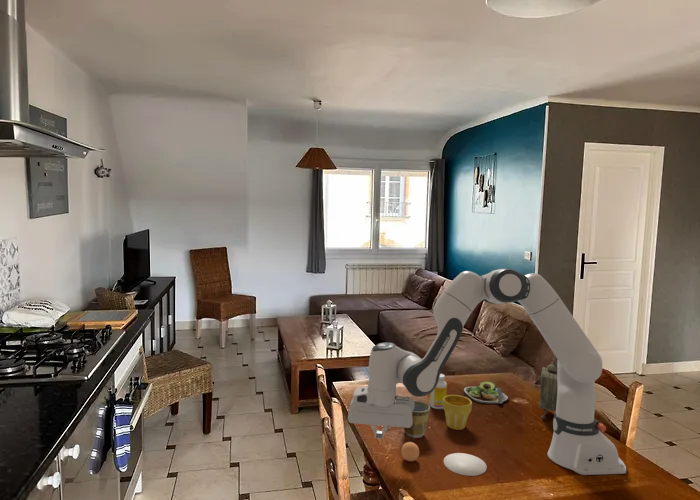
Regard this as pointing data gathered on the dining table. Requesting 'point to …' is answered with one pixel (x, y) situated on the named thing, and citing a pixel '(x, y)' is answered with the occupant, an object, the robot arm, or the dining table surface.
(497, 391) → the avocado toast plate
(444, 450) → the dining table surface
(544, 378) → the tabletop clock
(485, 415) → the dining table surface
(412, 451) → the ball
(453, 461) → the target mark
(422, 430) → the ceramic cup
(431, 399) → the supplement bottle
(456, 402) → the plant pot
